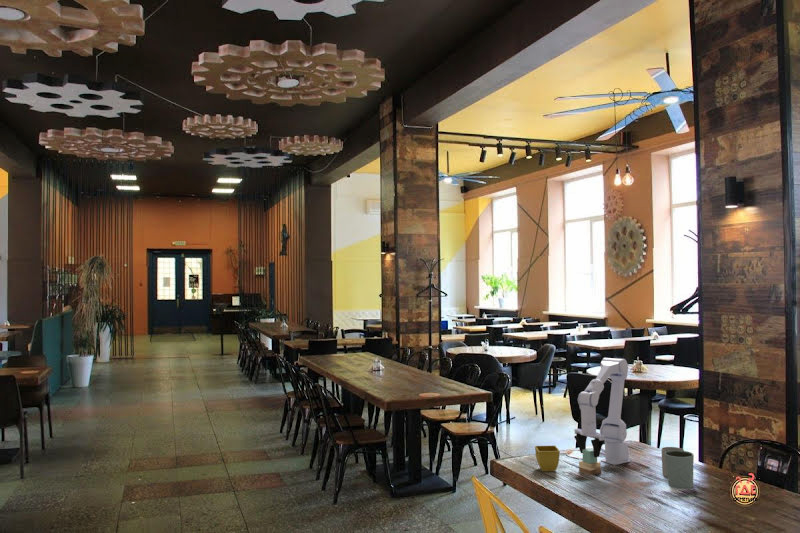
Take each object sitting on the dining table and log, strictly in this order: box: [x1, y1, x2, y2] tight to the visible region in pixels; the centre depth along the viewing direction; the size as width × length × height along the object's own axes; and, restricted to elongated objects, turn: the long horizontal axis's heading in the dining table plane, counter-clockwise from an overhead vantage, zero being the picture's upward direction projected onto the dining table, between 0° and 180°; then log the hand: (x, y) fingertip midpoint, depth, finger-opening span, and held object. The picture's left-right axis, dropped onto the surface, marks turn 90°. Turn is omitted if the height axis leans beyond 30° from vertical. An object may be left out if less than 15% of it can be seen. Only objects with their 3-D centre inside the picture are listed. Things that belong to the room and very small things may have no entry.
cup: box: [661, 446, 685, 478], centre depth 262 cm, size 8×8×10 cm
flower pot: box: [534, 445, 561, 472], centre depth 273 cm, size 9×9×9 cm
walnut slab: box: [578, 466, 602, 476], centre depth 269 cm, size 6×6×2 cm
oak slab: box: [578, 460, 602, 470], centre depth 269 cm, size 6×6×2 cm
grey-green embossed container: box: [665, 450, 695, 490], centre depth 249 cm, size 10×10×12 cm
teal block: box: [582, 447, 598, 464], centre depth 269 cm, size 4×4×5 cm
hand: (589, 454), depth 269 cm, fingers open, 7 cm apart
